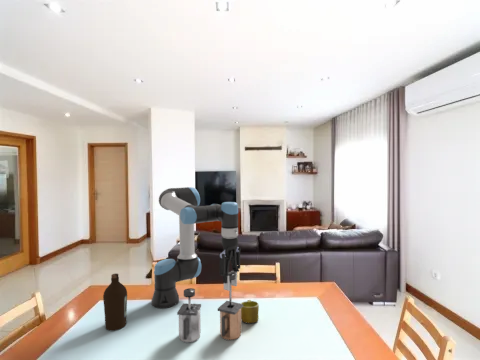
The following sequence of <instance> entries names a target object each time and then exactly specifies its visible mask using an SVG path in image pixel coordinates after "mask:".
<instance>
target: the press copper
mask: <svg viewBox="0 0 480 360" xmlns="http://www.w3.org/2000/svg"><path fill="white" fill-rule="evenodd" d="M242 307H243V304H241V302H240V303H239V302H234V301H232V308H229V300H225V301H224V302H223V303H222V304H221V305H220V306H218V308H217V311H218V312H219V324H220V326H219V331H220V337H221V338H222V339H223V340H225V341H234V340H237V339H240V337H241V336H242V334H241V333H242V320H241V308H242Z"/></svg>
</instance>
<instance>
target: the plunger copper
mask: <svg viewBox="0 0 480 360" xmlns="http://www.w3.org/2000/svg"><path fill="white" fill-rule="evenodd" d="M228 275H229V291H228V293H229V294H228V297H229V299H228V301H229V308H232V302H233V300H232V298H233V297H232V296H233V295H232V292H233V291H232V286H233V285H232V284H231V280H235V279H236V273H234V272H231V271H229V272H228Z"/></svg>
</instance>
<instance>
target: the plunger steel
mask: <svg viewBox="0 0 480 360" xmlns="http://www.w3.org/2000/svg"><path fill="white" fill-rule="evenodd" d="M195 295H196V289H195V288H193V287H192V288H191V287H190V288H186V289H184V290H183V297H184V298H187V299H188V303H187V304H188V310H191V304H192V303H191V298H193V297H195Z"/></svg>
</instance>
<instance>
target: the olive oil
mask: <svg viewBox="0 0 480 360" xmlns="http://www.w3.org/2000/svg"><path fill="white" fill-rule="evenodd" d="M119 278H120V277H119V273H112V274H111V277H110V280H111V281H110V283H109V285H108V286H107V287H106V288H105V290H104V292H103V296H102V297H103V298H102V300H103V311H104V312H103V313H104V325H105V326H104V327H105V329H106V330H107V331H117V330H118V331H119V330H121V329H123V328H125V326H127V318H128V317H127V310H128V309H127V306H128V291H127V290H128V289H127V288H126V286H125V285H124V284H123V283H121V282H120V279H119Z"/></svg>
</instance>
